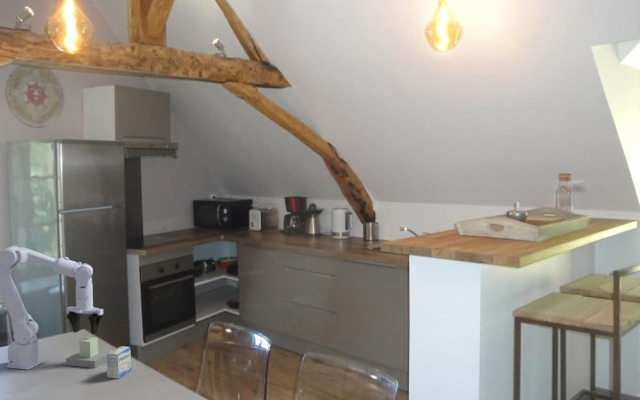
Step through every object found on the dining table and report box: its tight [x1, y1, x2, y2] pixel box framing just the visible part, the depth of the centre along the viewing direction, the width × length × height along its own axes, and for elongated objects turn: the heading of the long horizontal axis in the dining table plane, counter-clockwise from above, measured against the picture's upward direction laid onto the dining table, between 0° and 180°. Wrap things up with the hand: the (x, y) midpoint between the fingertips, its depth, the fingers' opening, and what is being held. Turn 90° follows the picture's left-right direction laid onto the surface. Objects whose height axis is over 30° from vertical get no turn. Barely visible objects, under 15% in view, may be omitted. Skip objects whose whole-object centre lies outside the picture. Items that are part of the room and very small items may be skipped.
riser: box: [65, 350, 111, 369], centre depth 194 cm, size 12×10×2 cm
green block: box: [79, 336, 99, 358], centre depth 194 cm, size 4×4×6 cm
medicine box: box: [106, 345, 132, 380], centre depth 182 cm, size 8×4×9 cm, turn 168°
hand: (85, 332), depth 196 cm, fingers open, 7 cm apart
